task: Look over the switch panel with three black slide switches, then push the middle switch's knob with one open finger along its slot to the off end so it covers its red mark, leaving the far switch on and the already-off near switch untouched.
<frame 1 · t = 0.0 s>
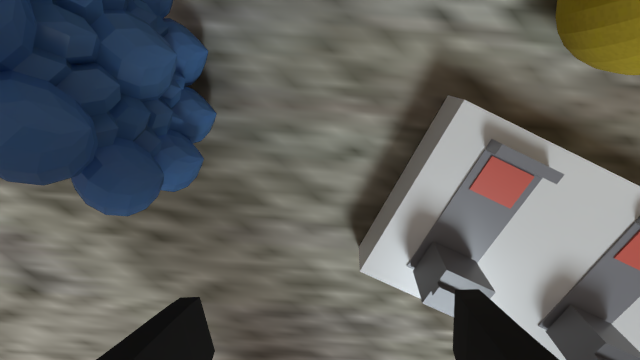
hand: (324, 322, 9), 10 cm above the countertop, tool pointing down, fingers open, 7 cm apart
switch panel: (574, 261, 18), on the countertop
switch middle: (596, 348, 15), point 4 cm above the countertop, slide at 0.0 cm
grapes: (176, 63, 17), on the countertop
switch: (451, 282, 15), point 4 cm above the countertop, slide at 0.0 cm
lemon: (581, 10, 15), on the countertop
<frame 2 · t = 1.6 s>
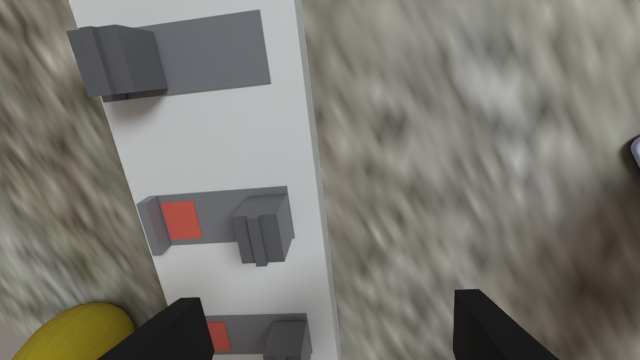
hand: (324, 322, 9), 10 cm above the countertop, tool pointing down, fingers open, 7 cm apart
switch panel: (241, 198, 19), on the countertop
switch middle: (264, 228, 15), point 4 cm above the countertop, slide at 0.0 cm
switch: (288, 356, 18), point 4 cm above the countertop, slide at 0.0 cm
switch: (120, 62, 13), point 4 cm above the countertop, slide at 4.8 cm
lemon: (123, 308, 23), on the countertop
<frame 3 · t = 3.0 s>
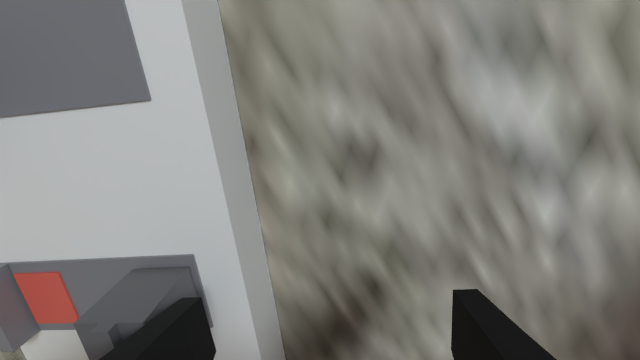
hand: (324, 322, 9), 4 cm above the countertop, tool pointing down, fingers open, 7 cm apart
switch panel: (153, 255, 14), on the countertop
switch middle: (145, 328, 10), point 4 cm above the countertop, slide at 0.1 cm, touching gripper
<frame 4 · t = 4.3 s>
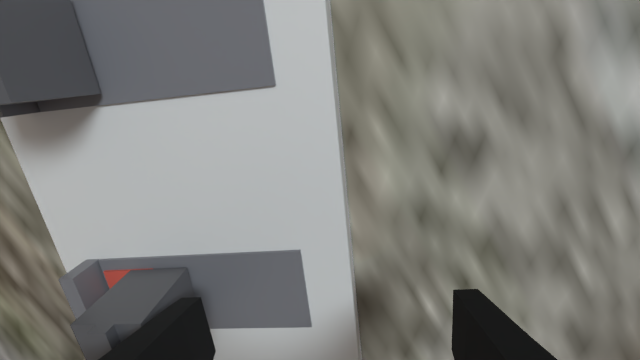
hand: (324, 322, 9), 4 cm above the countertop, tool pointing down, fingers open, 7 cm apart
switch panel: (232, 252, 13), on the countertop
switch middle: (143, 329, 10), point 4 cm above the countertop, slide at 3.8 cm, touching gripper
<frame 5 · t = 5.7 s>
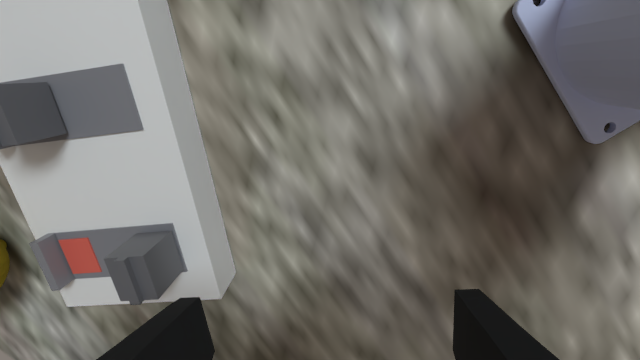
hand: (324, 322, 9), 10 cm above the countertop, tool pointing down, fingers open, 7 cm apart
switch panel: (105, 101, 18), on the countertop
switch middle: (10, 114, 14), point 4 cm above the countertop, slide at 3.8 cm
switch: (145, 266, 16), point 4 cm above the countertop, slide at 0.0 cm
lemon: (6, 241, 22), on the countertop
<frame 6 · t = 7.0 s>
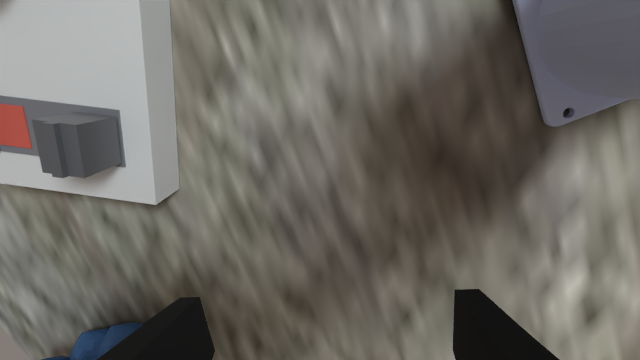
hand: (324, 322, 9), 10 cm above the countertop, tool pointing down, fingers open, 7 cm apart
grapes: (122, 339, 25), on the countertop
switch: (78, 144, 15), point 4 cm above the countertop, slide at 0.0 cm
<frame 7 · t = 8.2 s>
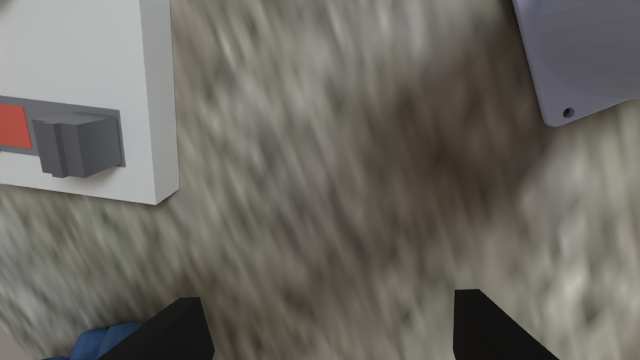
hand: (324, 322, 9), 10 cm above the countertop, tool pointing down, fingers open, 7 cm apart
grapes: (122, 339, 25), on the countertop
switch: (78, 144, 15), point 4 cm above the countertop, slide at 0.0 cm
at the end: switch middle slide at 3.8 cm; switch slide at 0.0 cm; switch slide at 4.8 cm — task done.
